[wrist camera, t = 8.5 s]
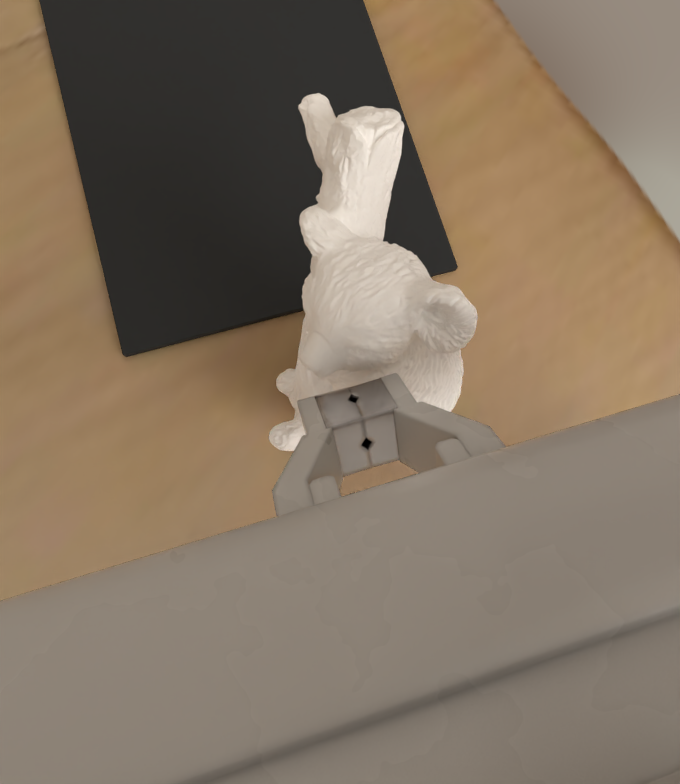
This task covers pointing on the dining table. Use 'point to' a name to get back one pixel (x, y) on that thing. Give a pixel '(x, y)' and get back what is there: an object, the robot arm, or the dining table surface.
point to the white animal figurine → (367, 277)
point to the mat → (217, 152)
